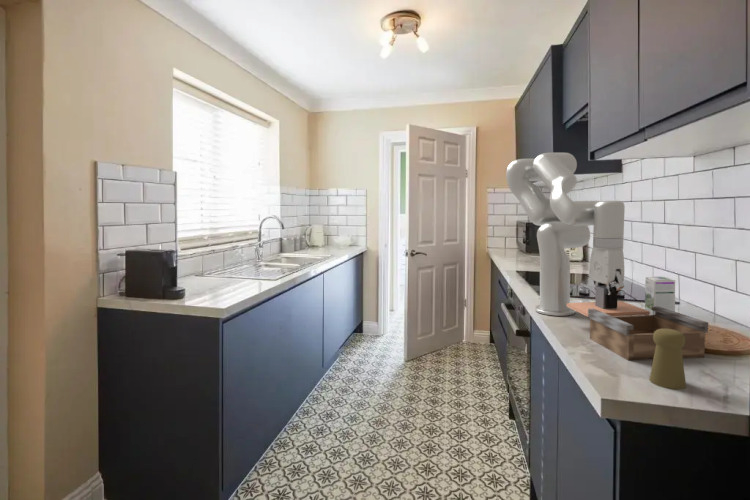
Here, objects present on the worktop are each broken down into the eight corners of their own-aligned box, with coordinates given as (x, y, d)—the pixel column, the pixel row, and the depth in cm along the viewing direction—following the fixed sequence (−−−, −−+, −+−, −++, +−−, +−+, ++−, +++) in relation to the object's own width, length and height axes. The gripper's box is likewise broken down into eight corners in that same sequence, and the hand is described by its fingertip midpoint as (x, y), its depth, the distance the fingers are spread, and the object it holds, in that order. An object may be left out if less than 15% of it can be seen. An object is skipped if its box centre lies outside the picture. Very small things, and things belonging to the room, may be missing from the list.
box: (587, 338, 107) (588, 308, 106) (656, 335, 107) (657, 306, 106) (625, 360, 91) (626, 325, 90) (706, 357, 91) (708, 322, 90)
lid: (566, 306, 120) (566, 284, 119) (621, 304, 120) (622, 282, 119) (588, 317, 108) (588, 292, 107) (649, 314, 108) (650, 290, 107)
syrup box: (675, 328, 113) (677, 279, 111) (652, 328, 114) (654, 279, 112) (664, 323, 118) (666, 276, 117) (643, 322, 119) (644, 276, 118)
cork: (674, 391, 75) (676, 336, 74) (642, 380, 80) (644, 328, 79) (693, 385, 77) (695, 331, 76) (660, 374, 83) (662, 324, 82)
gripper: (579, 241, 120) (578, 299, 122) (613, 247, 103) (610, 313, 105) (603, 241, 120) (601, 298, 122) (641, 246, 103) (638, 312, 105)
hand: (606, 305), depth 114 cm, fingers closed on lid, 4 cm apart
